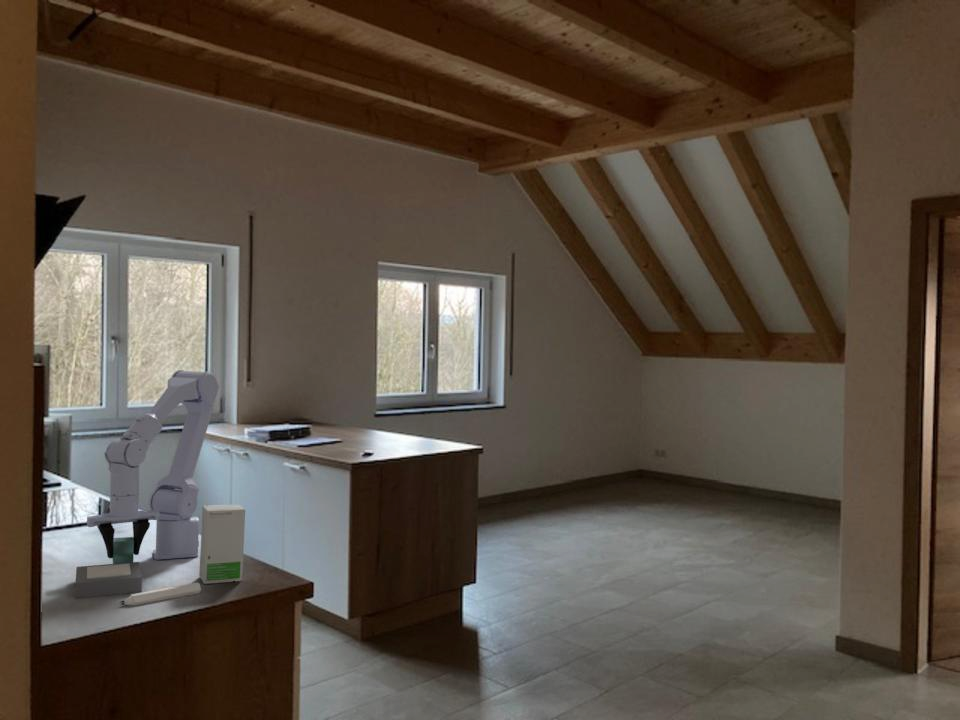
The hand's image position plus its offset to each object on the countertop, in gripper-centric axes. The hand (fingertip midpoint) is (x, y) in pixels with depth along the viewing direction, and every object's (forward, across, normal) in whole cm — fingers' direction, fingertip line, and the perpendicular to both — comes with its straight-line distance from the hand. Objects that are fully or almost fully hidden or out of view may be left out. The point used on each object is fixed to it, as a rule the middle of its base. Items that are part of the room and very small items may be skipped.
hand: (123, 555), depth 175 cm
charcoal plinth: (+3, +5, +10) cm, 12 cm away
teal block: (+1, 0, 0) cm, 1 cm away
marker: (+4, -1, +24) cm, 24 cm away
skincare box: (+3, -16, +17) cm, 23 cm away
